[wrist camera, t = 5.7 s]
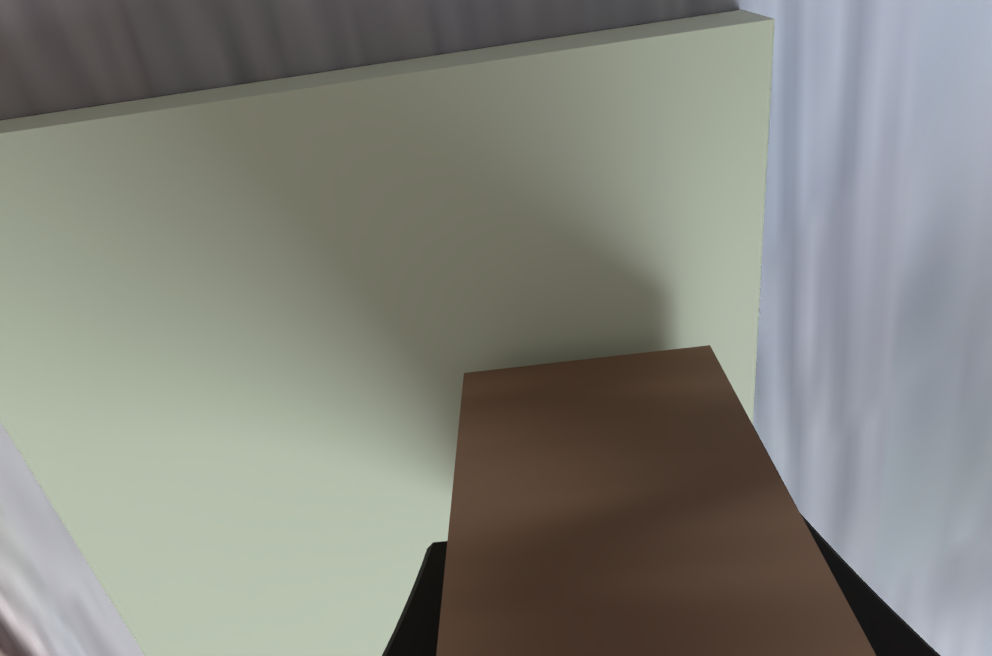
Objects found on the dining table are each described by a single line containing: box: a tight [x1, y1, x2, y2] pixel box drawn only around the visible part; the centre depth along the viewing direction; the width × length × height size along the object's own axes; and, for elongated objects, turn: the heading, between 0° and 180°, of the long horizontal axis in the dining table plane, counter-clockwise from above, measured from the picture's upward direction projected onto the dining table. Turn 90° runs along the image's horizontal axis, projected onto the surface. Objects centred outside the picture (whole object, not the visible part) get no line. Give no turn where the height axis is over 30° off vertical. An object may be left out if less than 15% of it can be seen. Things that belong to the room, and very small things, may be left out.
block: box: [436, 345, 876, 656], centre depth 9 cm, size 4×4×7 cm
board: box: [0, 10, 775, 656], centre depth 14 cm, size 14×14×2 cm
